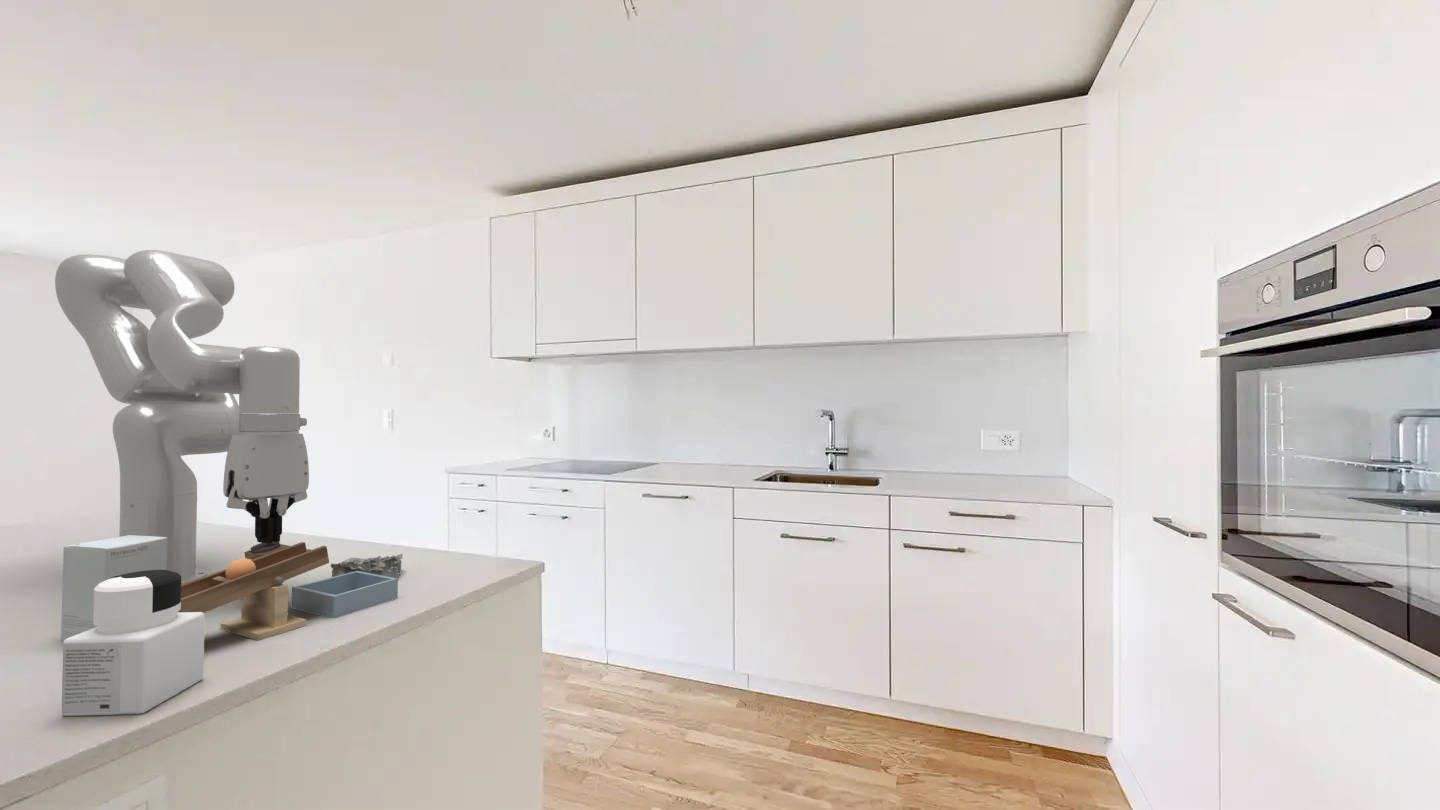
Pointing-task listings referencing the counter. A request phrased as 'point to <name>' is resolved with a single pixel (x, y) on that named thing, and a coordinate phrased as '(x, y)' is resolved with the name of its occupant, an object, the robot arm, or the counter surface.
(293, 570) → the lever
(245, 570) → the ball
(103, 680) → the container
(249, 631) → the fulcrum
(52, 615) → the counter surface
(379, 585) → the dish
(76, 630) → the supplement box
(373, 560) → the egg carton
